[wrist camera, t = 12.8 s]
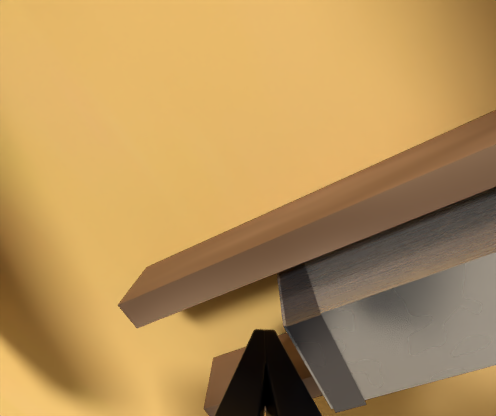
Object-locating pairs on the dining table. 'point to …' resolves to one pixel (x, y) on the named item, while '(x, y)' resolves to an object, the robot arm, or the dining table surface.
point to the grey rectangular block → (398, 305)
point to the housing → (316, 233)
